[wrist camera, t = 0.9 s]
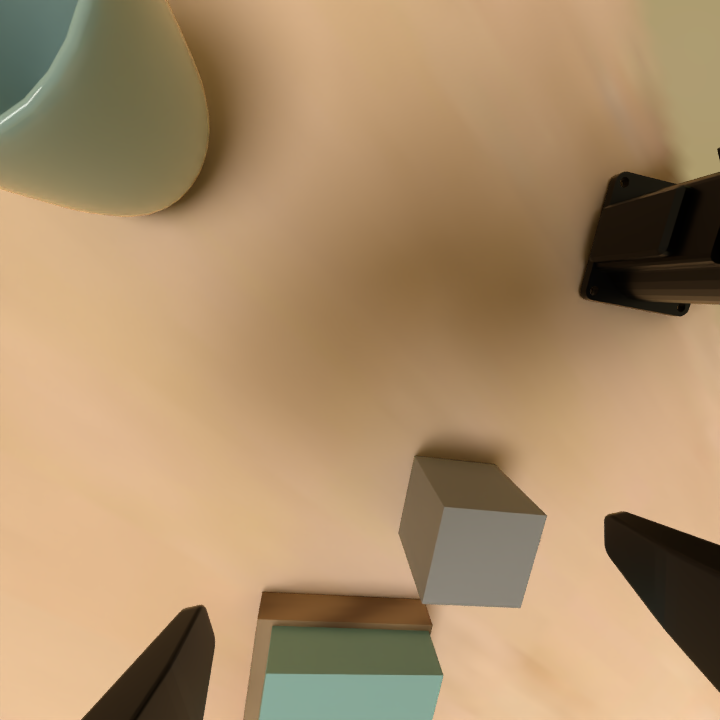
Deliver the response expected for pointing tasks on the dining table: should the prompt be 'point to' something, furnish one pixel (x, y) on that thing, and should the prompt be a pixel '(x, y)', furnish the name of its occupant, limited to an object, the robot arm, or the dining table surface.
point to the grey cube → (468, 534)
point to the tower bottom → (325, 624)
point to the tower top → (350, 674)
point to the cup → (99, 105)
